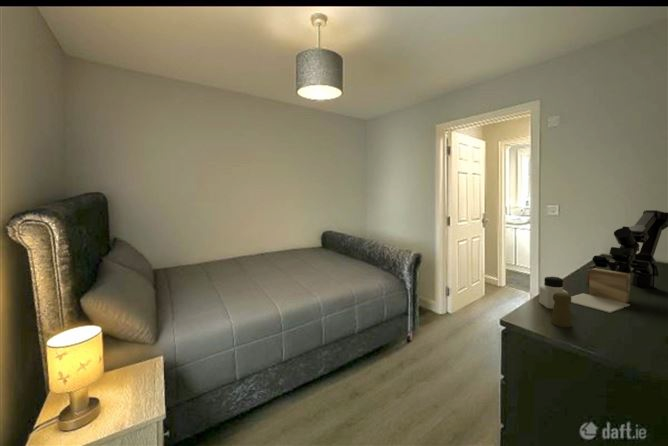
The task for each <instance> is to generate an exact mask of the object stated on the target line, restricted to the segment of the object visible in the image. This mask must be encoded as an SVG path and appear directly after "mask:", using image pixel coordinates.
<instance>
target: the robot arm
mask: <svg viewBox="0 0 668 446" xmlns="http://www.w3.org/2000/svg"><path fill="white" fill-rule="evenodd" d="M667 228H668V212H664V211H661V210H658V209H656V210H655V209H652V210H651V209H648V210H647V209H646V210H643V212H642V215H641V216H640V218H639V219H638V220H637V221H636V222H635V224H634V225H632V226H625V225H624V226H622V228H621V227H620V228H618V229H616V230H615V231H614V232H613V235H614V237H615V239H616V241H617V243H618V245H620V246H619V247H614V246H611V247H610V250H609V255H611V256H610V257H611V258H609V259H607V257H606V256H604V255H603V256H602V255H594V256H593V257H592V259H591V260H592V262H593V263H594V264H595V265H596V266H597V267H596V268H602V269H605V268H607V267H608V268H609V269H610V270H609V271H616V272H622V273H628V274H633V276H632V282H630V285H631V286H635V287H637V288H641V289H657V288H658V287H657V286H655V277H659V276H660V269H659V267H658V264H657V261H656V259H655V257H654V255H655V253H656V250H657V247H658V244H659V240H660V238H661V235H662V231H664V230H665V229H667ZM639 243H641V246H640V244H639ZM640 247H641V248H640ZM637 252H638V253H637Z"/></svg>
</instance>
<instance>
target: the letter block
mask: <svg viewBox="0 0 668 446" xmlns="http://www.w3.org/2000/svg"><path fill="white" fill-rule="evenodd" d="M589 269H590V268H589ZM588 289H589V290H588V295H592V296H596V297H601V298H605V299H609V300H614V301H618V302H622V303H626V304H628V303H629V302H630V294H631V293H630V291H631V290H630V289H631V273H622V272H616V271H612V270H608V269H604V268H598V267H596V268H593V269H590V280H589V285H588ZM627 302H628V303H627Z"/></svg>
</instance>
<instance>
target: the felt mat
mask: <svg viewBox="0 0 668 446" xmlns="http://www.w3.org/2000/svg"><path fill="white" fill-rule="evenodd" d="M570 304H574V305H578V306H581V307H586V308H589V309H594V310H597V311H601V312H605V313H608V314H611V313H614V312H617V311H619V310H622V309H625V308H627V307H629V306H631V304H630V303H622V302H618V301H614V300H609V299H605V298H601V297H596V296H592V295H589V293H588V294H587V293H583V292H582V293H579V294H576V295H572V296H571V303H570ZM624 307H625V308H624Z"/></svg>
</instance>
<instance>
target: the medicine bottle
mask: <svg viewBox="0 0 668 446" xmlns="http://www.w3.org/2000/svg"><path fill="white" fill-rule="evenodd" d="M543 281H544V284H543V285H544V286H543V285H542V286H539V294H538V295H539V297H538V299H539V303H540V304H541V305H543V306H544V307H545V308H546V309H551V310H553V308H554V303H555V301H554V300H553V294H554V293H566V294H568V295H569V292H568V291H567V290H565V289H563V288H564V280H563V278H561V277H559V276H554V275H552V276H545V277H544V279H543Z"/></svg>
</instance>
